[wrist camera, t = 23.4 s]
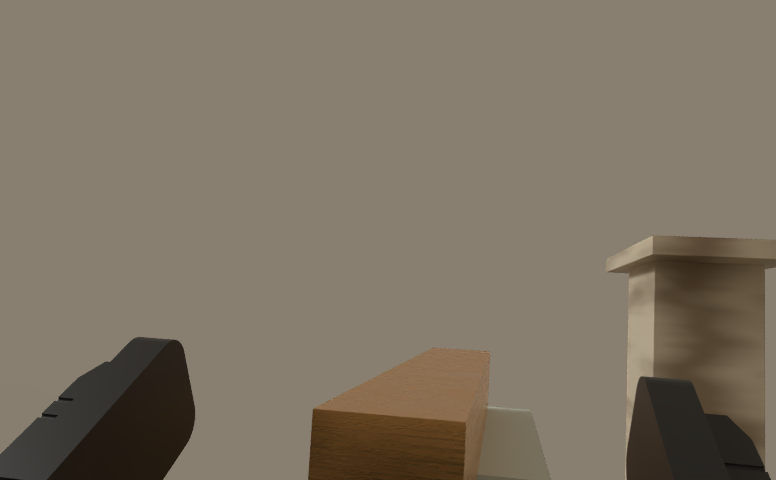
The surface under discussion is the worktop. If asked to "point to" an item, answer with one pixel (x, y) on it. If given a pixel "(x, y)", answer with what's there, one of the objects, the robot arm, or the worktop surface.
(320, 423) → the wooden block
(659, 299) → the tall pedestal
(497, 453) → the white i-beam column
